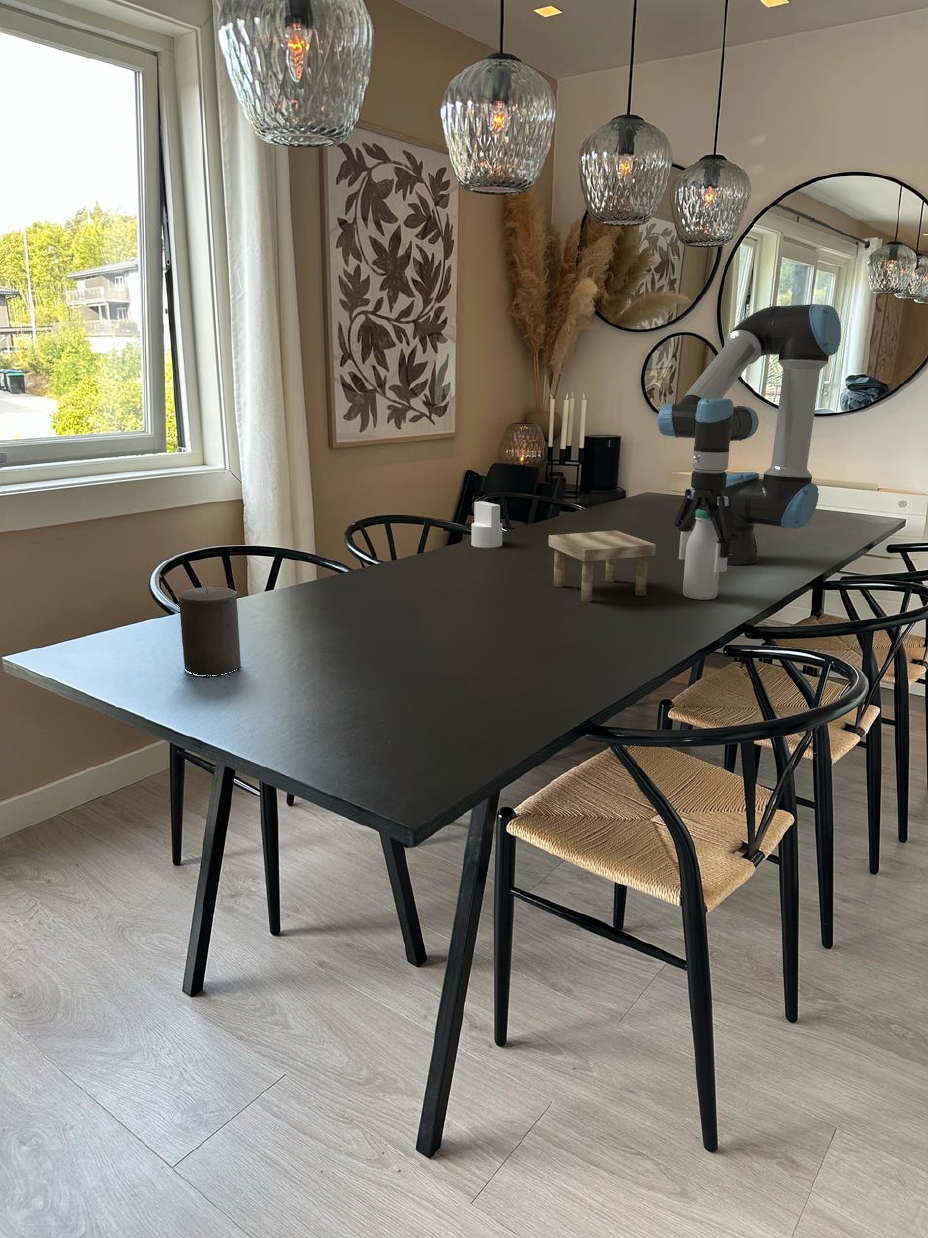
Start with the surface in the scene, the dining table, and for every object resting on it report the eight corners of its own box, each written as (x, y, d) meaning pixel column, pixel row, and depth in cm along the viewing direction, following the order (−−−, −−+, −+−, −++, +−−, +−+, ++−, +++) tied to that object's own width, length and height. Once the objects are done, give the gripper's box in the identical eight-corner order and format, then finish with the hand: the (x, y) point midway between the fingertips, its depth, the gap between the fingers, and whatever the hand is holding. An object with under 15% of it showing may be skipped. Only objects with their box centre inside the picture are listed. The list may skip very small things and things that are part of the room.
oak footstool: (613, 578, 220) (615, 530, 216) (652, 595, 204) (655, 544, 200) (547, 584, 214) (548, 535, 210) (582, 603, 198) (584, 550, 194)
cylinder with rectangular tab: (508, 545, 258) (509, 504, 254) (483, 549, 253) (483, 507, 250) (490, 540, 265) (490, 500, 262) (465, 543, 260) (465, 502, 257)
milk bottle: (718, 601, 199) (725, 512, 193) (683, 599, 200) (689, 511, 195) (716, 592, 206) (723, 507, 200) (682, 591, 208) (688, 506, 202)
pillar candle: (188, 680, 151) (181, 595, 146) (181, 662, 159) (174, 581, 155) (246, 673, 154) (241, 590, 150) (236, 656, 163) (231, 577, 159)
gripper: (663, 465, 205) (657, 555, 211) (730, 478, 183) (721, 578, 189) (691, 464, 208) (684, 553, 214) (760, 476, 185) (750, 575, 191)
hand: (701, 565), depth 201 cm, fingers open, 13 cm apart
